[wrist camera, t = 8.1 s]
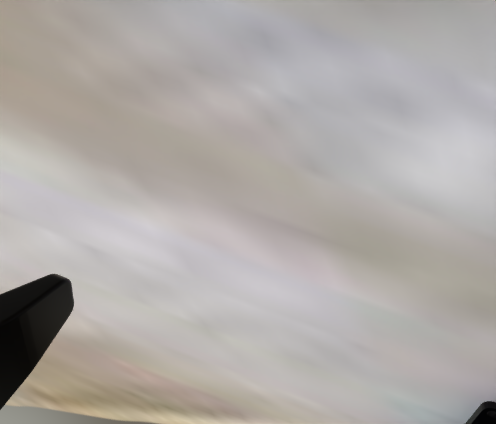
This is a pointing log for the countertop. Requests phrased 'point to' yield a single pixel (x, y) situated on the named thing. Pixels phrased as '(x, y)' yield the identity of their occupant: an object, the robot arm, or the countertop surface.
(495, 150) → the countertop surface
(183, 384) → the countertop surface
